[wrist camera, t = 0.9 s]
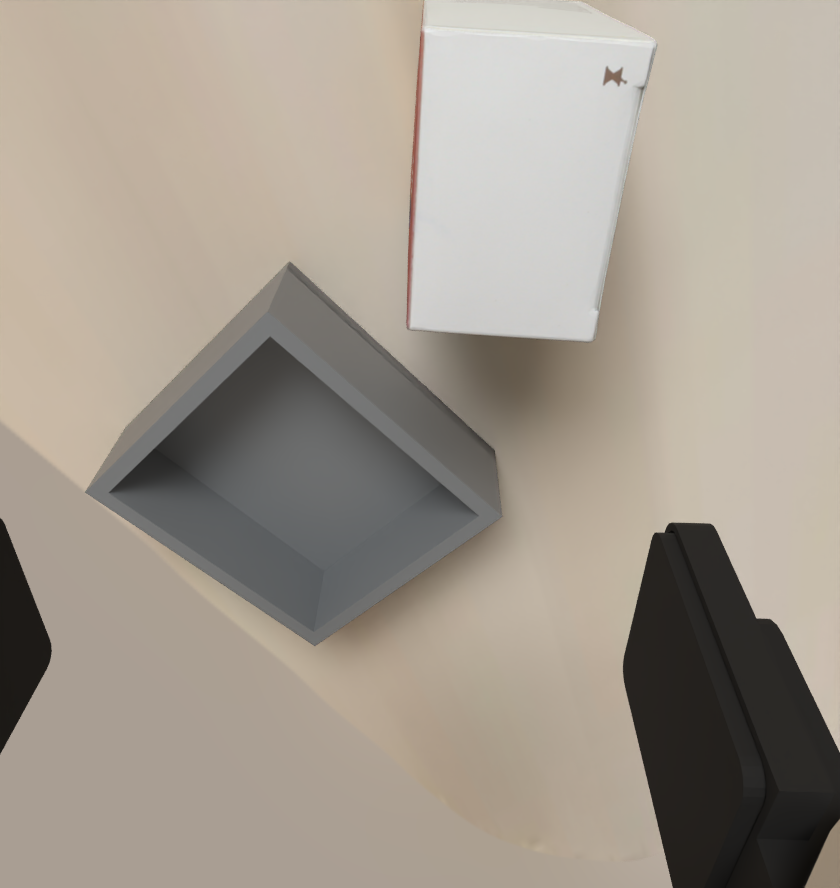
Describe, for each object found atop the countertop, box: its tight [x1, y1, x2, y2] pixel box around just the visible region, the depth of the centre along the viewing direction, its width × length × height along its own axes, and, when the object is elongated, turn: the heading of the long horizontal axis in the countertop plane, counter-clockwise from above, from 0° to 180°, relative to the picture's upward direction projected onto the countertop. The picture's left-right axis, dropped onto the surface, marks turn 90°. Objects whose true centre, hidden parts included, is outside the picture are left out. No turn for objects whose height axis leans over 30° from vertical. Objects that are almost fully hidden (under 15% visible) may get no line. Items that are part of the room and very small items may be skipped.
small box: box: [406, 0, 657, 343], centre depth 24 cm, size 8×6×10 cm
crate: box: [85, 262, 502, 646], centre depth 34 cm, size 12×13×5 cm
